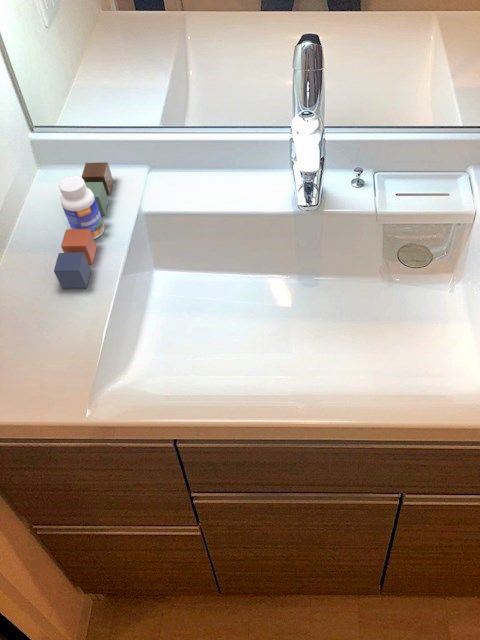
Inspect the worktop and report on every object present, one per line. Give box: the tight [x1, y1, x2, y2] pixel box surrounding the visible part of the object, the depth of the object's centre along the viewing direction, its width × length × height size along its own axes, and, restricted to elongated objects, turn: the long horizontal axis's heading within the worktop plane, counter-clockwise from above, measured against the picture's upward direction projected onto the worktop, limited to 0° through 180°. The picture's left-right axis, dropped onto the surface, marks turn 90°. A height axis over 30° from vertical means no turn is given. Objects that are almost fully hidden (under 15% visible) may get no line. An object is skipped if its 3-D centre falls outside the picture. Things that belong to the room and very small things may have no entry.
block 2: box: [53, 252, 92, 290], centre depth 101 cm, size 4×4×4 cm
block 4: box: [85, 182, 109, 216], centre depth 110 cm, size 4×4×4 cm
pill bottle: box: [58, 175, 105, 240], centre depth 105 cm, size 5×5×10 cm
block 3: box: [81, 161, 114, 196], centre depth 114 cm, size 4×4×4 cm
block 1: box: [60, 228, 98, 265], centre depth 104 cm, size 4×4×4 cm
